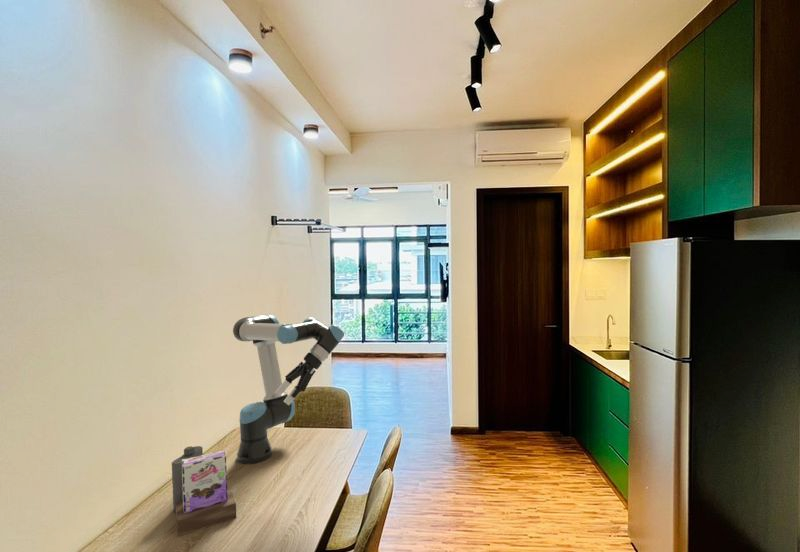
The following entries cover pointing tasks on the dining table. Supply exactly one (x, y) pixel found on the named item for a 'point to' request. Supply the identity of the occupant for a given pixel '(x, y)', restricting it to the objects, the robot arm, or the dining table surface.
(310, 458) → the dining table surface
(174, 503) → the flask
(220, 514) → the walnut plinth
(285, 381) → the robot arm
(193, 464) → the candy box
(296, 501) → the dining table surface
